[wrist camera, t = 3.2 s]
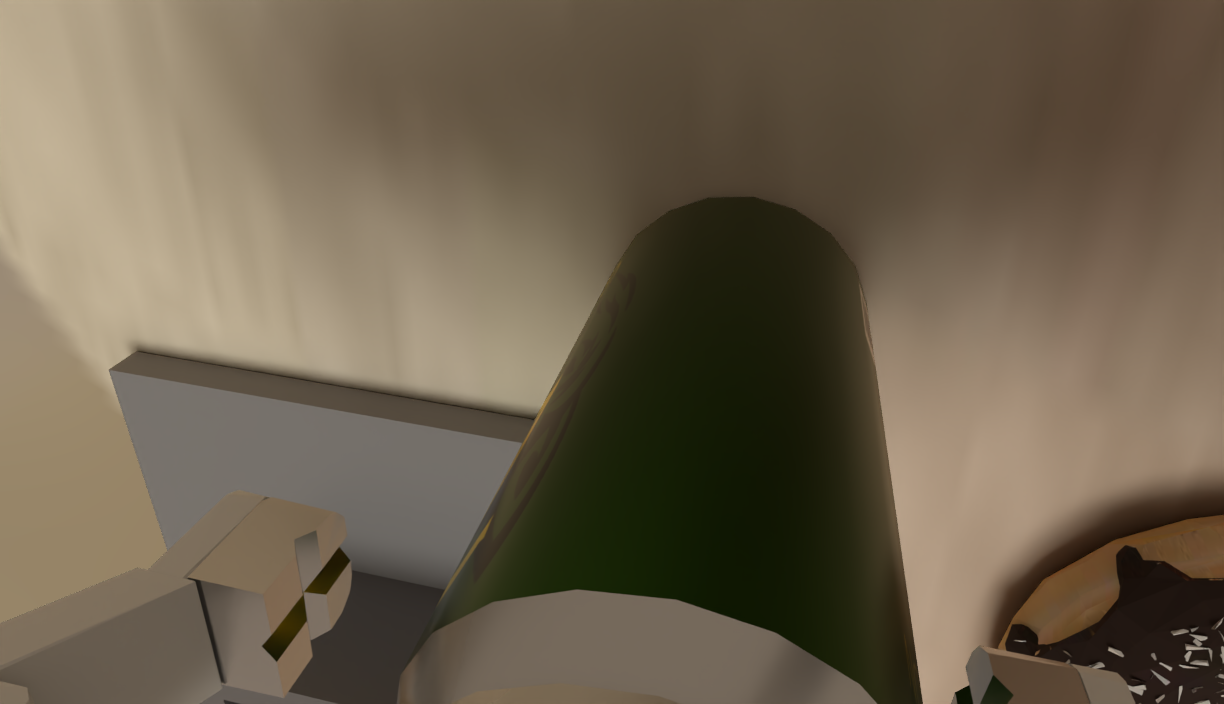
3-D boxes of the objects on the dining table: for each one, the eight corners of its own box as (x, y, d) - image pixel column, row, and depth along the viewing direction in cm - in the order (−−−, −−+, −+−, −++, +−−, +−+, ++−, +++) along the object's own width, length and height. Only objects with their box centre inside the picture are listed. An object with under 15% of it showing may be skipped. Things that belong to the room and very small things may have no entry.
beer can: (851, 161, 15) (935, 702, 5) (875, 396, 17) (967, 1088, 7) (588, 207, 17) (246, 682, 7) (643, 416, 19) (455, 1005, 9)
